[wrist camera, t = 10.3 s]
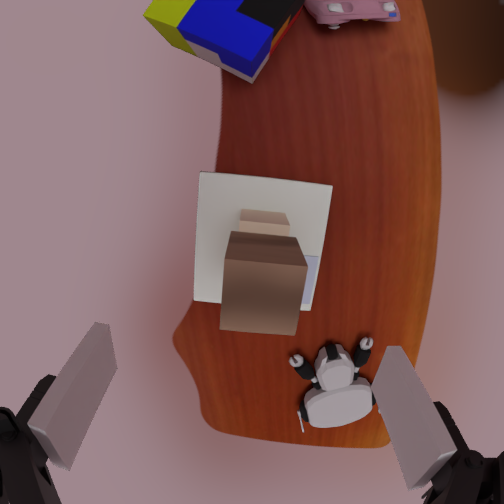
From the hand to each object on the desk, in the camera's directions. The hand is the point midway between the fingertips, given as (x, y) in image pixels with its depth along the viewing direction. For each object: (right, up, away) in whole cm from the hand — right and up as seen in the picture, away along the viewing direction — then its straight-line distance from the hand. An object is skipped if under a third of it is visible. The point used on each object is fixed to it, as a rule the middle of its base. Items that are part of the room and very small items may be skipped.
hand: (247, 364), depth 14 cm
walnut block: (+1, +4, +16) cm, 17 cm away
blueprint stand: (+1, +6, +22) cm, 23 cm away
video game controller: (+11, +32, +13) cm, 36 cm away
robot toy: (+12, -13, +29) cm, 34 cm away
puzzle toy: (-2, +29, +14) cm, 32 cm away
